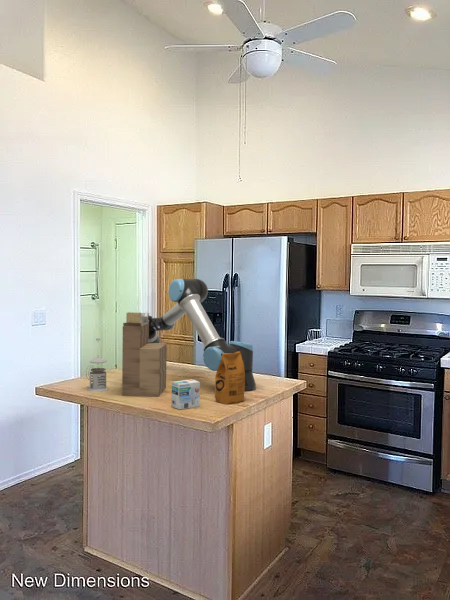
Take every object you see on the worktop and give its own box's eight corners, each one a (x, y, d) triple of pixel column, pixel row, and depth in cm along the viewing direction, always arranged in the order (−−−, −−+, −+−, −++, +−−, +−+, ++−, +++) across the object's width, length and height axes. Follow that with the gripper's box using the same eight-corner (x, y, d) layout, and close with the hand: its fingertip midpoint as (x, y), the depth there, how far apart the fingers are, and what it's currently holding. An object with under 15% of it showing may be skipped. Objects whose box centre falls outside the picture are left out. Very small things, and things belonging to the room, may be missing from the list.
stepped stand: (132, 386, 258) (132, 319, 257) (166, 387, 258) (166, 320, 256) (122, 395, 239) (122, 323, 237) (158, 396, 238) (159, 324, 236)
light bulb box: (178, 410, 215) (179, 384, 215) (170, 406, 221) (171, 381, 220) (200, 406, 222) (200, 381, 221) (191, 403, 227) (192, 378, 227)
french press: (112, 388, 253) (112, 337, 252) (94, 393, 243) (94, 340, 242) (98, 386, 258) (98, 336, 257) (80, 390, 249) (80, 338, 247)
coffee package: (211, 400, 232) (212, 351, 231) (234, 397, 239) (234, 349, 238) (224, 405, 224) (225, 354, 223) (247, 401, 231) (248, 352, 230)
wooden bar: (139, 320, 268) (139, 308, 268) (151, 320, 268) (151, 309, 267) (126, 325, 240) (126, 312, 240) (139, 326, 240) (139, 313, 239)
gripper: (164, 339, 277) (157, 321, 256) (132, 338, 278) (123, 320, 257) (165, 326, 280) (159, 307, 260) (134, 326, 281) (125, 306, 260)
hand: (141, 313), depth 258 cm, fingers closed on wooden bar, 4 cm apart
